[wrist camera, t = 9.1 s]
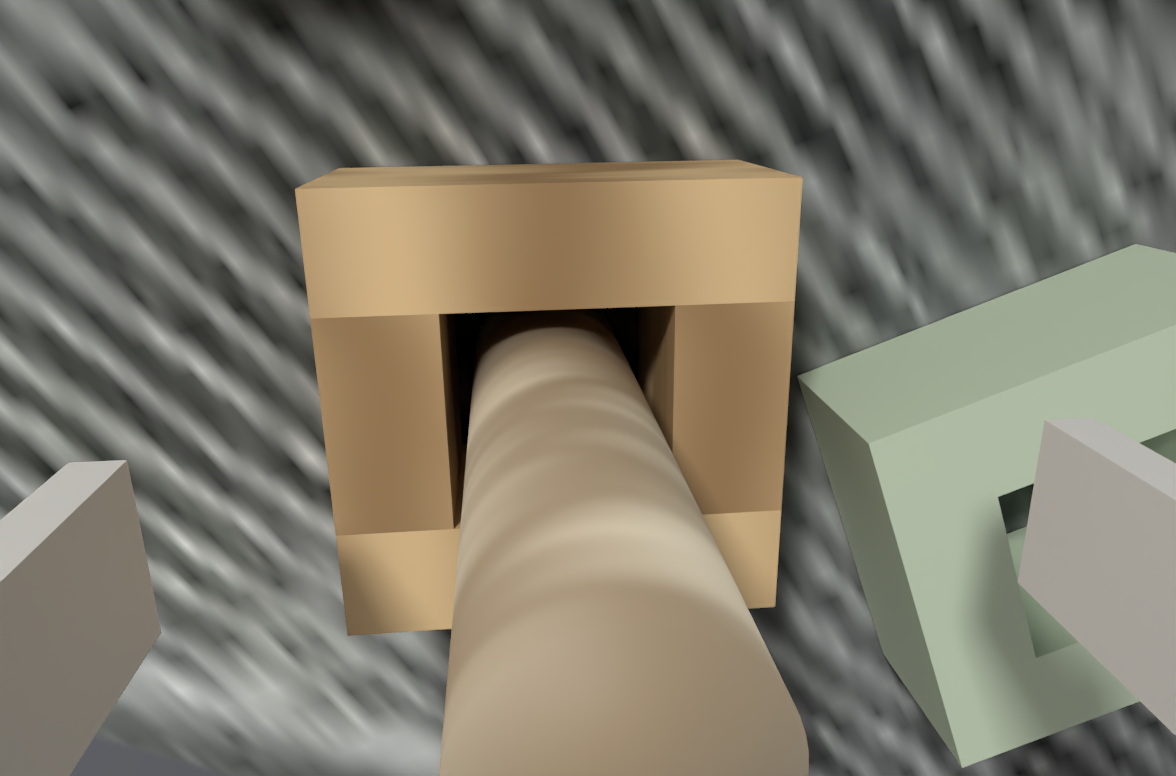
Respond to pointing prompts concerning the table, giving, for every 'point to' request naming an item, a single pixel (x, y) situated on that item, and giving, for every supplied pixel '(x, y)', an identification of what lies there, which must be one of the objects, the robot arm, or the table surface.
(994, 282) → the table surface
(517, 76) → the table surface
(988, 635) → the sage bead
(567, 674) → the dowel
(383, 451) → the wooden square ring
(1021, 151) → the table surface
